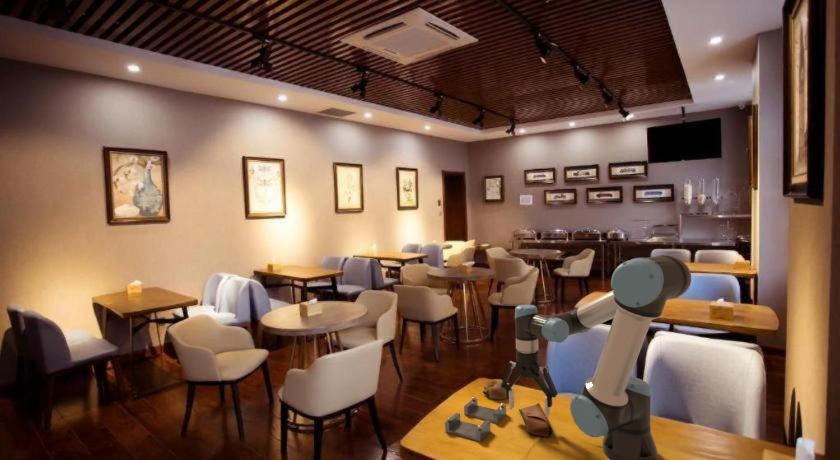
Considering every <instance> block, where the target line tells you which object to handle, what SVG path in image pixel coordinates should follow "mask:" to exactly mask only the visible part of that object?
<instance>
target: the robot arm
mask: <svg viewBox="0 0 840 460" xmlns="http://www.w3.org/2000/svg"><path fill="white" fill-rule="evenodd" d="M691 284H692V274H691V271H690V268H689V266H688V265H687V264H686V263H685V262H684V261H683V260H682V259H680V258H678V257H675V256H673V255H667V254H666V255H665V254H663V255H657V256H651V257H635V258H632V259H630V260H626V261H624V262H622V263H620V264H619V265H618V266H617V267H616V268H615V269H614V271H613V273H612V275H611V279H610V286H611V287H610V288H611V289H612V290H610V291H609V292H606V293H604V294H602V295H601V296H598V297H596V298H595V299H592V300H590V301H589V302H587V303H585V304H583V305H581V306H579V307H576V308H575V309H573V310H569V311H567V312H566V311H565V312H561V313H556V314H552V315H551V314H550V315H545V314H539V312H538V308H537V306H536V305H534V304H519V305H516V306H515V309H514V311H515V312H514V324H515V326H514V327H515V349H516V351H515V352H516V353H515V354H516V355H515V357H516V359H515V360H516V362H514V361H513V360H510V361H509V362H508V363H507V370H506V371H505V375H504V377H503V379H502V384H501V387H502V388H505V389H506V395H507V398H506V399H507V400H508V407H509V410H510V411H511V410H512V409H514V408H515V395H514V393H515V391H514V390H515V389H514V388H512V387H514V385H515V384H516V383H517V381H518V380H519V379H520V377H521V376H522V378H528V379H533V380H534V381H535V382H536V384H537V385H538V387H539V388H540V389H541V391H542V392H543V393H544V395H545V397H544V413H545V417H547V418H548V417H550V415H551V410H550V409H551V408H552V406H553V398H556V397H557V396H558V394H559V393H558V390H557V388H556V386H555V384H554V381H553V379H552V376H551V374H550V369H549V366H547V365H545V366H540V359H539V358H540V357H539V355H540V354H539V338H540V339H543V340H546V341H548V342H551V343H558V344H559V343H560V344H561V343H563V342H565V340H566V339H567V338H568V337H570V336H572V335H576V334H577V335H578V334H582V333H585V332H587V331H590V330H592V328H594V327H596V326H599V325H601V324H604V323H606V322H607V321H610V320H612V322H611V325H610V327H609V331H608V334H607V337H606V340H605V343H604V346H603V348H602V352H601V353H600V354H601V355H600V357H599V360H598V362H597V365H596V369H595V372H594V374H593V376H592V377H588V378H587V379H586V381H585V383H584V385H583V389H582V391H581V393H580V394H578V395H577V394H576V395H575V396H574V397H573V398H572V399H571V401H570V403H569V409H570V414H571V417H572V419H573V422H574V423H575V425H576V426H577V427H578V429H579V430H580V431H581V432H582V433H583V434H585V435H587V436H588V437H591V438H600V437H603V439H602V450H603V453H604V454H605V455H606V456H607V457H608V458H610V459H611V460H658V458H659V457H658V447H657V445H656V442H655V440H654V437H653V435H652V430H651V429H652V428H651V397H652V395H651V390H650V385H649V383H647V381H645V380H643V379H640V378H638V377H635V376H631V375H632V373H633V370H634V368H635V365H636V363H637V360H638V357H639V355H640V352H641V349H642V347H643V344H644V342H645V339H646V336H647V334H648V331H649V328H650V326H651V323H652V321H653V320H656V319H659V318H660V317H661V316H662V313H663V311H664V308H665V306H666V303H667V301H669V300H672V299H676V298H679V297H681V296H683V295H684V294H685V293H686V292H687V291H688V290H689V289H690V287H691ZM513 369H516V370H517V373H516V374H515V375H514V377H513V378H512V380H510V382H509V379H510V377H511V375H512V373H513ZM539 372H541V374H542V375H543V378H544V379H543V378H542V376H541V374H540V373H539ZM544 380H545V381H544Z"/></svg>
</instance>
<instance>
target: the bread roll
mask: <svg viewBox="0 0 840 460" xmlns="http://www.w3.org/2000/svg"><path fill="white" fill-rule="evenodd" d="M502 381H503V379H501V378H500V379H498V378H495V379H491V380H489V381H488V382H487V383H486V384H485V385H483V391H482V393H483V394H484V395H485V397H487V398H489V399H490V400H491V399H492V400H496V401H497V400H506V399H507V395H506V389H505V388H502V387H501V384H502Z"/></svg>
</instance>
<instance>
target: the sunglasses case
mask: <svg viewBox="0 0 840 460" xmlns="http://www.w3.org/2000/svg"><path fill="white" fill-rule="evenodd" d="M518 411H519V413H520V415H521V416H522V420H523V422H524V425H525V431H526V432H527V433H529V434H531V435H535V436H539V437H545V438H546V437H547V438H548V437H551V436H552V435H553V428H552V427H551V424H550V421H549V419H548V417H545V410H543V408H542V406H541V405H540V403H539V402H538V403H536V404H534V405H530V406H527V407H523V408H519V409H518Z"/></svg>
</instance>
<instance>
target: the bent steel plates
mask: <svg viewBox="0 0 840 460" xmlns="http://www.w3.org/2000/svg"><path fill="white" fill-rule="evenodd" d="M463 411H464V415H465V416H469V417H472V418H476V419H477V420H478V419H479V420H482V421H483V422H482V423H481V424H474V423H471V422H467V421H463V420H461V413H459V412H455V413H454V414H453V415H452V416H448V417H447V418H446V421H445V422H444V425H445V426H444V427H445V431H444V432H445V433H448V434H451V435H455V436H457V437H462V438H465V439H468V440H472V441H476V442H478V443H482V441H483V440H484V439H485V438H486V437H487V435H489V433H491V423H493V424H499V423H500V422H501V421H502V420H503V418H504V417H505V416H506V415H507V405H506V404H505V403H504V402H501V403H500V405H499V407H498V408H497V409H494V408H490V407H487V406H482V405H478V398H476V396H472V397H471V400H469V402H467V403H466V404H464V406H463Z"/></svg>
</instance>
